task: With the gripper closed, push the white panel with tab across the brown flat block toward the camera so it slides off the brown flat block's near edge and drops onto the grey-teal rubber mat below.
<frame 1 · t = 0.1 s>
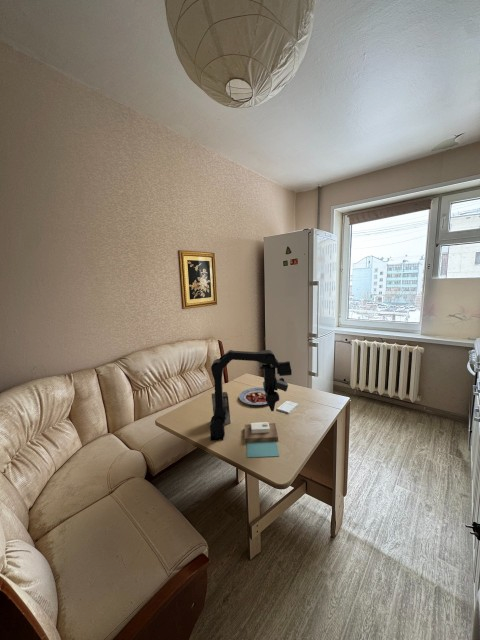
hand: (271, 406, 121), 15 cm above the table, fingers open, 9 cm apart
brown flat block: (260, 434, 122), on the table
coffee box: (222, 422, 137), on the table
external hard drive: (287, 408, 148), on the table
ceramic plate: (258, 398, 163), on the table
mat: (262, 449, 111), on the table
white panel with tab: (260, 429, 123), point 2 cm above the table, touching brown flat block
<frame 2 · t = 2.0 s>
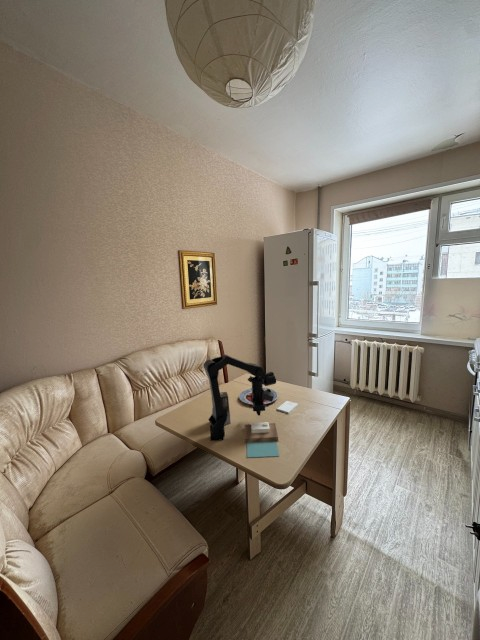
hand: (258, 415, 132), 5 cm above the table, fingers closed
nothing on the table moved.
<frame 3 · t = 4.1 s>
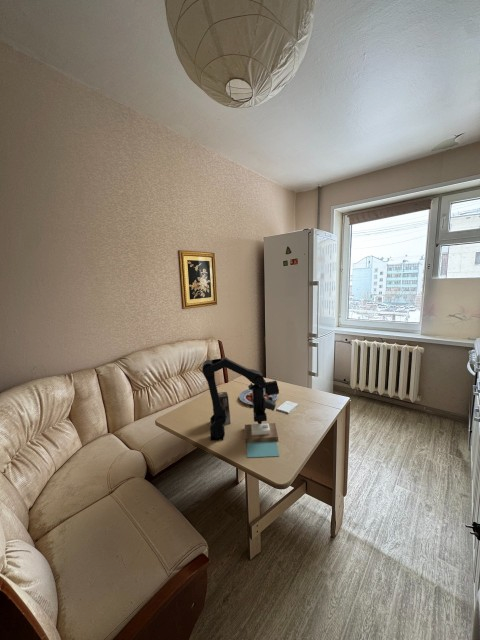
hand: (260, 424, 125), 3 cm above the table, fingers closed
white panel with tab: (260, 430, 122), point 2 cm above the table, touching brown flat block, gripper
everything else where it was.
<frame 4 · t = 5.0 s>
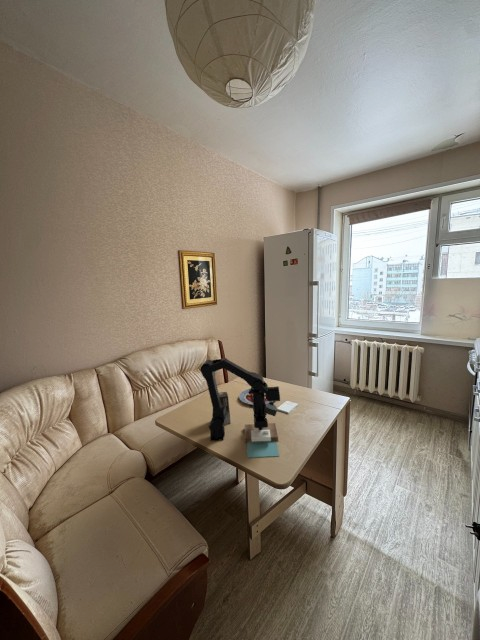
hand: (260, 430, 120), 3 cm above the table, fingers closed
white panel with tab: (260, 437, 116), point 2 cm above the table, touching brown flat block, gripper
everything else where it was.
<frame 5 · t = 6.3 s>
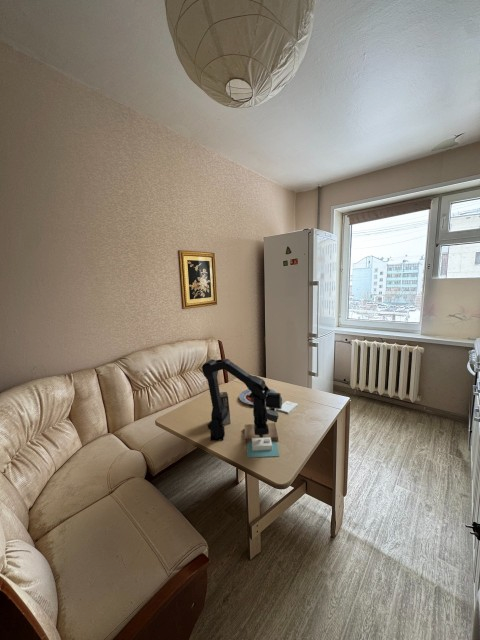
hand: (261, 437, 115), 3 cm above the table, fingers closed
white panel with tab: (261, 445, 113), resting on mat
everything else where it was.
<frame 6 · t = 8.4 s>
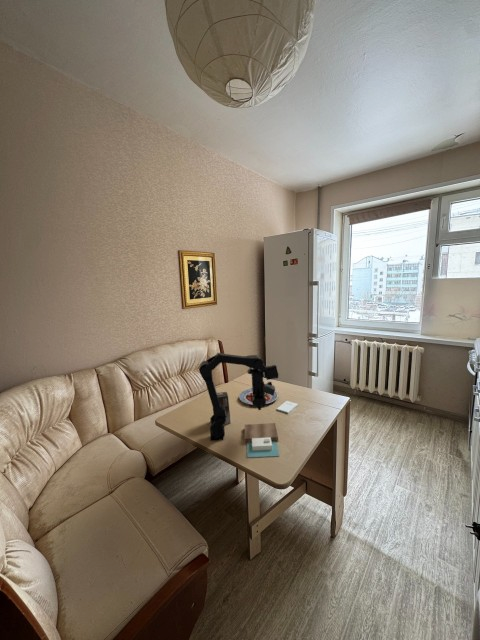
hand: (259, 409, 124), 12 cm above the table, fingers closed
nothing on the table moved.
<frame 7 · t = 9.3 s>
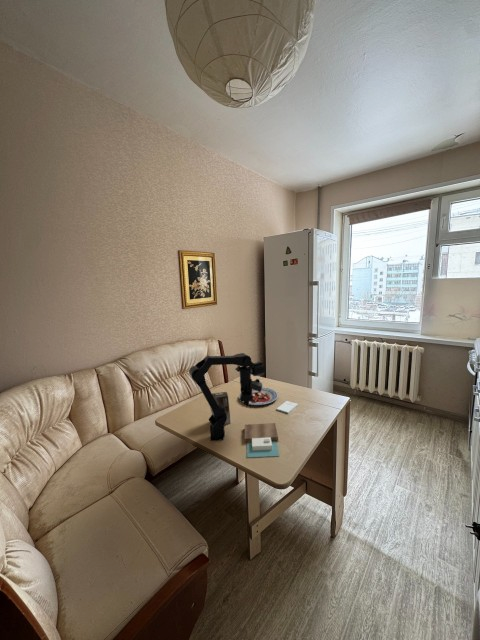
hand: (247, 406, 128), 12 cm above the table, fingers closed
nothing on the table moved.
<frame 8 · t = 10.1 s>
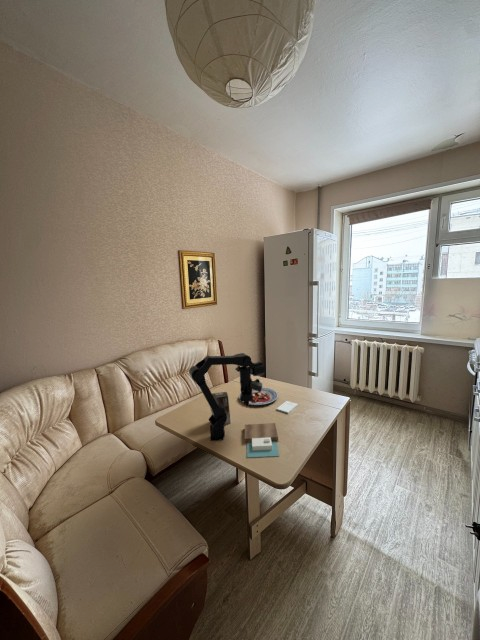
hand: (247, 406, 128), 12 cm above the table, fingers closed
nothing on the table moved.
at the end: white panel with tab inside the target area on the mat (2.3 cm from its centre), point 0.3 cm above the mat's base; white panel with tab touching mat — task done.
